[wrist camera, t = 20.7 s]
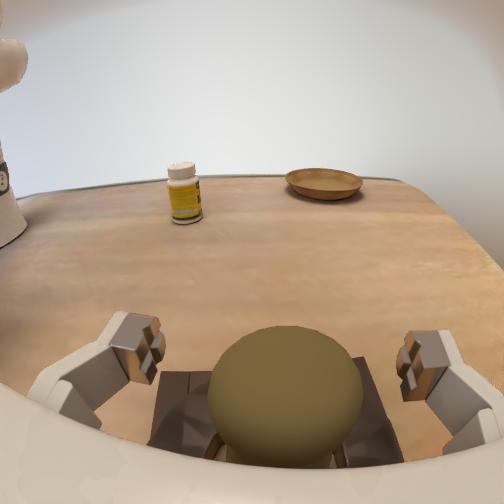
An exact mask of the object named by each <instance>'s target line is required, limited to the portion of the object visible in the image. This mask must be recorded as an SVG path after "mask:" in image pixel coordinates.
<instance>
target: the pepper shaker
mask: <svg viewBox="0 0 504 504" xmlns="http://www.w3.org/2000/svg"><path fill="white" fill-rule="evenodd" d="M207 401H208V406H209V412H210V417H211V420H212V423H213V426H214V427H215V429H216V430H217V432H218V433H219V435H220V437H221V438H222V440H223V441H224V443H225V444H226V445H227V452H226V463H234V464H241V465H250V466H260V467H272V468H290V469H329V466H330V460H331V454H332V452H333V451H334V450H335V449H337V448H338V447H339V446H341V445H342V444H343V442H344V441H345V439H346V438H347V437H348V435H349V434H350V432H351V431H352V429H353V428H354V426H355V424H356V423H357V421H358V419H359V415H360V410H361V406H362V401H363V387H362V382H361V376H360V372H359V370H358V368H357V367H356V365H355V363H354V362H353V360H352V358H351V357H350V355H349V354H348V352H347V351H346V350H345V349H344V348H343V347H342V346H341V345H340V344H338V343H337V342H336V341H335V340H334V339H333V338H331V337H329V336H326V335H324V334H322V333H320V332H318V331H316V330H312V329H307V328H303V327H299V326H275V327H270V328H265V329H260V330H257V331H255V332H253V333H251V334H248V335H246V336H244V337H242V338H241V339H239V340H238V341H237V342H236V343H235V344H233V345H232V346H231V347H230V348H228V349H227V350H226V352H225V353H224V354H223V355H222V356H221V358H220V360H219V361H218V363H217V364H216V366H215V367H214V369H213V371H212V375H211V380H210V384H209V389H208V394H207Z"/></svg>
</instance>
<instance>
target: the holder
mask: <svg viewBox="0 0 504 504" xmlns="http://www.w3.org/2000/svg"><path fill="white" fill-rule="evenodd" d="M352 360H353V362H354V363H355V365H356V367H357V368H358V370H359V372H360V376H361V382H362V387H363V401H362V406H361V410H360V415H359V419H358V421H357V423H356V424H355V426H354V428H353V429H352V431H351V432H350V434H349V435H348V437H347V438H346V439H345V441H344V442H343V444H342V445H341V446H339V447H338V448H337V449H335V450H334V451H333V453H334V454H335V458H336V462H337V467H338V469H344V468H361V467H373V466H382V465H391V464H398V463H404V460H403V459H404V458H403V455H402V452H401V449H400V446H399V444H398V441H397V438H396V435H395V432H394V429H393V427H392V424H391V422H390V420H389V419H388V418H387V416H386V413H385V410H384V408H383V405H382V402H381V400H380V397H379V394H378V392H377V389H376V387H375V384H374V381H373V379H372V376H371V374H370V371H369V369H368V366H367V364H366V361H365V359H364V357H357V358H352ZM211 375H212V371H191V372H178V371H161V374H160V380H159V386H158V392H157V398H156V404H155V410H154V417H153V423H152V430H151V437H150V440H149V442H148V443H147V446H150V447H154V448H158V449H161V450H165V451H170V452H174V453H178V454H183V455H187V456H192V457H197V458H202V459H208V460H213V458H214V456H215V454H216V452H217V450H218V448H219V447H220V446H221V445H222V444H223V443H224V441H223V440H222V438H221V437H220V435H219V433H218V432H217V430H216V429H215V427H214V426H213V423H212V420H211V417H210V412H209V406H208V401H207V394H208V389H209V384H210V380H211Z"/></svg>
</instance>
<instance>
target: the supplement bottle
mask: <svg viewBox="0 0 504 504" xmlns="http://www.w3.org/2000/svg"><path fill="white" fill-rule="evenodd" d="M195 171H196V170H195V164H194V163H192V162H184V163H177V164H173V165H170V166H169V167H168V175H169V177H170V178H169V180H168V181H167V188H168V195H169V202H170V209H171V216H172V220H173V221H174V222H175V223H178V224H189V223H193V222H196V221H198V220H200V219H201V217H202V208H201V198H200V188H199V179H198V177H197V176H196V175H194V174H195V173H196V172H195Z"/></svg>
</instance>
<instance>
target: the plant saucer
mask: <svg viewBox="0 0 504 504" xmlns="http://www.w3.org/2000/svg"><path fill="white" fill-rule="evenodd" d="M285 179H286V181H287V182H288V183H289V185H290V186H291V187H292V188H293V189H294V190H295V191H297V192H298V193H300V194H301V195H304V196H306V197H310V198H315V199H322V200H337V199H343V198H347V197H349V196H351V195H352V194H354V193H355V192H356V191H357V190H359V189H360V187H361V186H362V185H363V180H362V179H361V178H360V177H358V176H356V175H354V174H351V173H348V172H344V171H339V170H333V169H322V168H308V169H299V170H294V171H292V172H289V173H287V174H286V175H285Z"/></svg>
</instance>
